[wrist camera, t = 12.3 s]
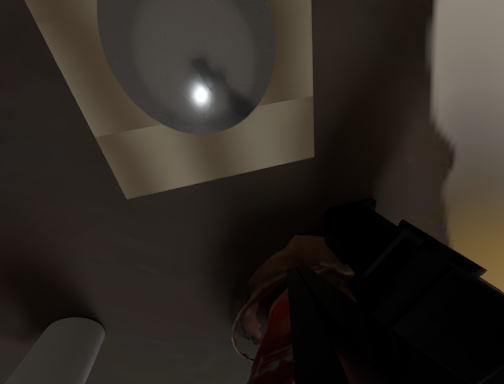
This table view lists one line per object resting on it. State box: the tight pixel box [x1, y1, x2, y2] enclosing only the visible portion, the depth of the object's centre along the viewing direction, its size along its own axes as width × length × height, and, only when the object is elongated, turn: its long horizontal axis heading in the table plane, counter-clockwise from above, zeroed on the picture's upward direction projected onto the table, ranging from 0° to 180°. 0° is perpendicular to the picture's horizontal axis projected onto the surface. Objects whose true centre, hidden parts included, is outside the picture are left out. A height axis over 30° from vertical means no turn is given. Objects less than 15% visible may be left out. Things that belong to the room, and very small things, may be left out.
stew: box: [231, 234, 357, 384], centre depth 24 cm, size 28×24×16 cm
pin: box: [97, 0, 275, 134], centre depth 12 cm, size 7×7×9 cm
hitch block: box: [25, 0, 314, 199], centre depth 13 cm, size 14×14×5 cm
